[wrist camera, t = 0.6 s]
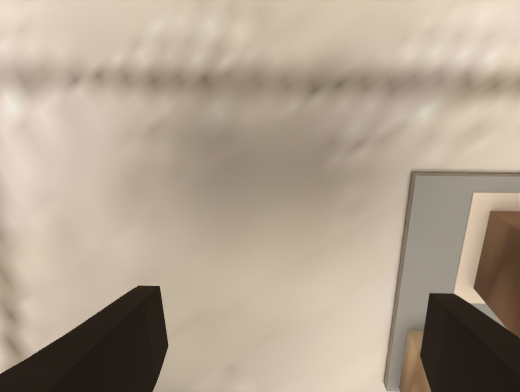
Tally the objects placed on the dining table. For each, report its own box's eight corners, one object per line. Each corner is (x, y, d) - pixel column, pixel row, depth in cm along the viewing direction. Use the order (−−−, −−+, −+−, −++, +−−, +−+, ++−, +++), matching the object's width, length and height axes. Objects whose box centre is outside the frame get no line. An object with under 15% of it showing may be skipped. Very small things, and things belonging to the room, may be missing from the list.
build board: (568, 394, 21) (576, 404, 21) (383, 382, 22) (386, 392, 22) (649, 174, 17) (663, 178, 16) (412, 172, 18) (416, 176, 17)
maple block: (475, 393, 21) (514, 462, 17) (399, 388, 22) (421, 454, 18) (490, 333, 20) (536, 394, 16) (408, 329, 20) (434, 388, 16)
